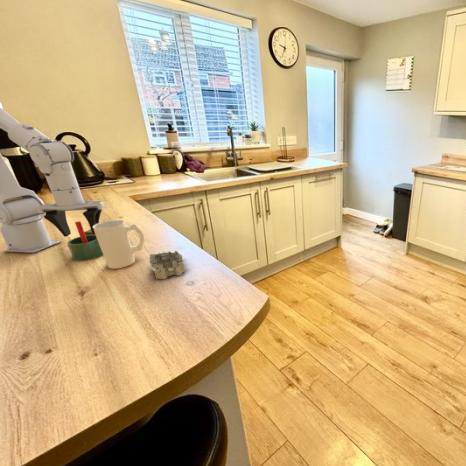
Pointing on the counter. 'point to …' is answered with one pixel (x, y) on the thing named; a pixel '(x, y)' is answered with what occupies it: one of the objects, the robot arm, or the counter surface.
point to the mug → (117, 242)
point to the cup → (85, 248)
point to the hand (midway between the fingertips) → (82, 234)
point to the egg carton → (166, 264)
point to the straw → (81, 232)
